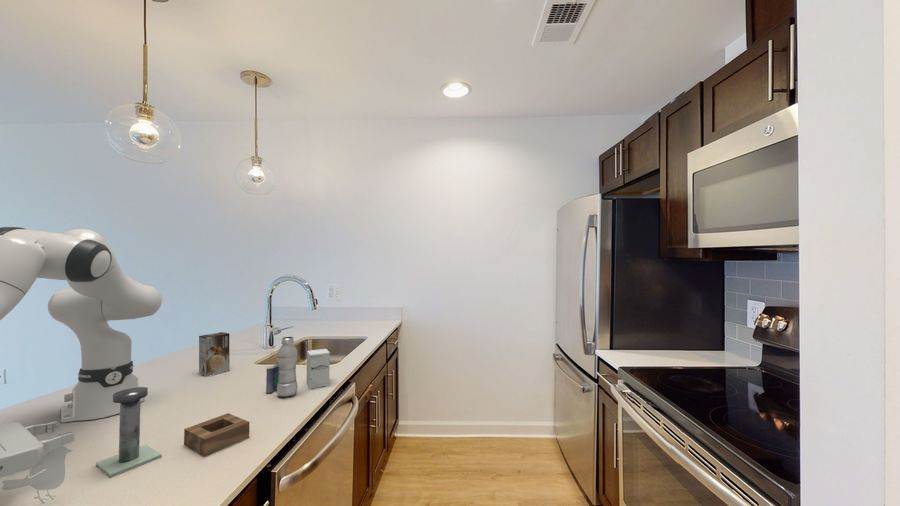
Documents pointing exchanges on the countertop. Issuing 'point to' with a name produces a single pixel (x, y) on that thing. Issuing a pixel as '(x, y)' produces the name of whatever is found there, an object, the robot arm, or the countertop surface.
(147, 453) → the coaster
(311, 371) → the supplement box
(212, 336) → the coffee box
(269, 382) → the flask
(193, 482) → the countertop surface
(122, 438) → the dark grey capped cylinder
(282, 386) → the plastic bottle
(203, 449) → the walnut block
